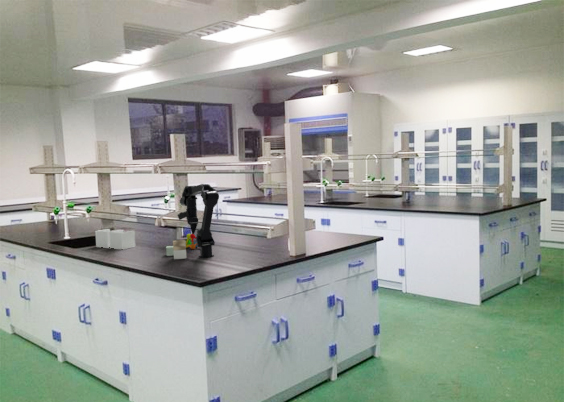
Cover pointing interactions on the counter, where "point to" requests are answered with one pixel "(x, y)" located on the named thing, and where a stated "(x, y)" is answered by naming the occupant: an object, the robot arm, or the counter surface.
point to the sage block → (169, 250)
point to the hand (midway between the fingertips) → (192, 232)
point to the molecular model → (191, 237)
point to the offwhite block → (179, 254)
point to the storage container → (115, 239)
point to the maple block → (179, 245)
